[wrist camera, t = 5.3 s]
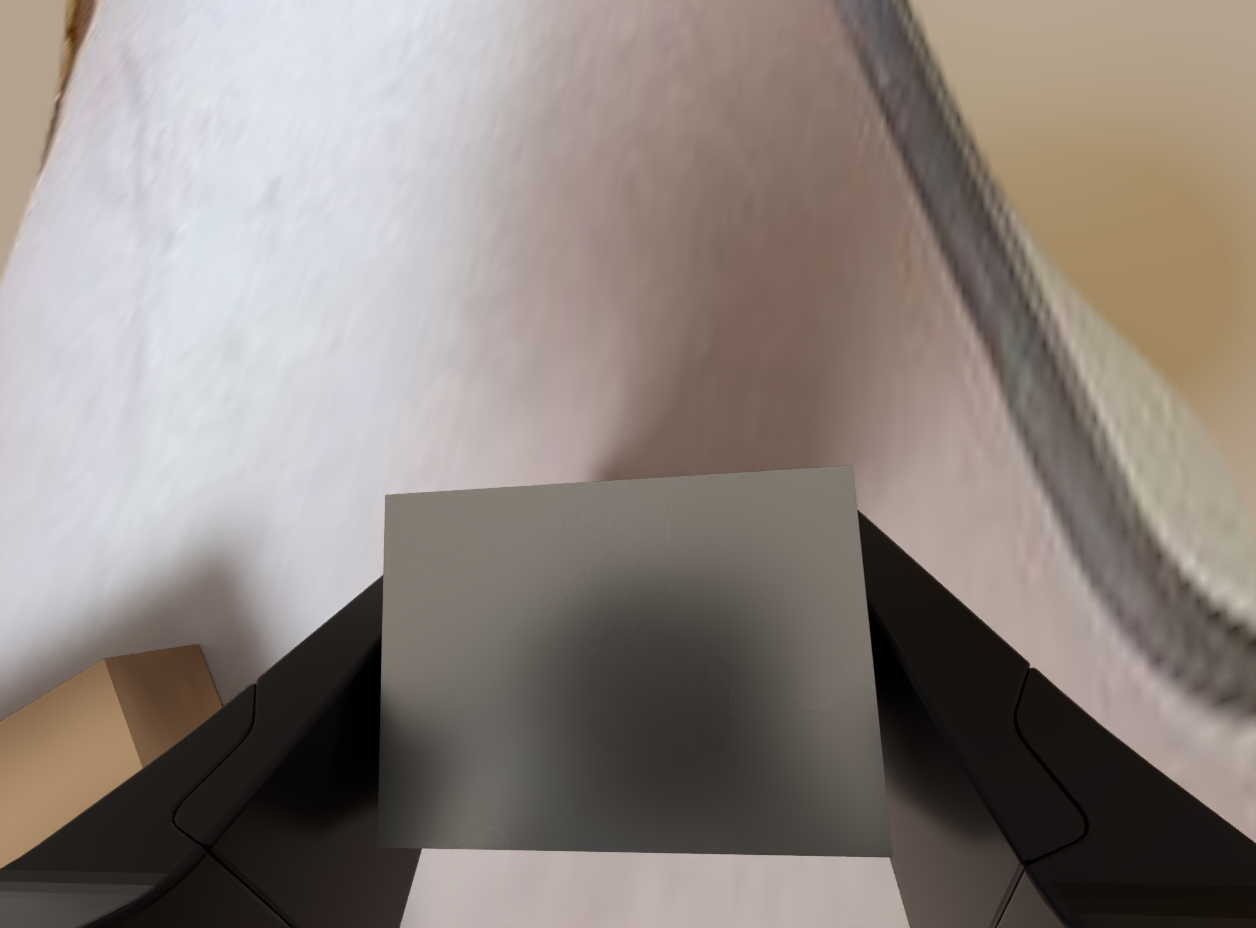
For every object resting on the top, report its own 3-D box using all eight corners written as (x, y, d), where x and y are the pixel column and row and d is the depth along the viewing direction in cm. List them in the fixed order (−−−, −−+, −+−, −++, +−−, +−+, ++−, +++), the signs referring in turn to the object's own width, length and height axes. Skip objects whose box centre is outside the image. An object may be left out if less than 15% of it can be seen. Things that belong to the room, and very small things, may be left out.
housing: (810, 693, 15) (957, 908, 6) (567, 697, 16) (330, 888, 6) (794, 511, 16) (899, 423, 6) (563, 524, 17) (344, 463, 7)
